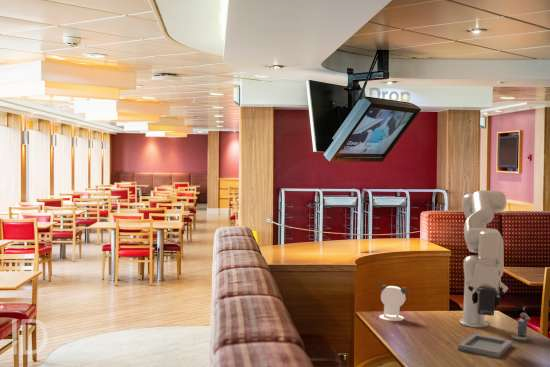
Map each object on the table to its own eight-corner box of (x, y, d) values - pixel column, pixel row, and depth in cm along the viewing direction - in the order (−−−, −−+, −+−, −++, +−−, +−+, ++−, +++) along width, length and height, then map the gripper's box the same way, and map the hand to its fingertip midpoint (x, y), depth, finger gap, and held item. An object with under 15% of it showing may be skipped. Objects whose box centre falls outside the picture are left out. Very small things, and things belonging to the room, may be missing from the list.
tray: (473, 338, 280) (473, 333, 280) (511, 346, 271) (512, 340, 271) (457, 350, 263) (458, 344, 263) (498, 358, 254) (499, 352, 254)
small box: (494, 316, 261) (496, 290, 260) (477, 314, 262) (478, 288, 261) (492, 309, 271) (493, 284, 270) (475, 308, 272) (476, 283, 272)
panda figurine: (407, 316, 314) (408, 285, 313) (402, 322, 303) (404, 290, 302) (382, 313, 318) (383, 282, 317) (377, 319, 307) (378, 287, 306)
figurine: (534, 339, 281) (535, 311, 281) (529, 344, 274) (530, 315, 274) (514, 335, 286) (515, 308, 286) (508, 340, 279) (509, 312, 279)
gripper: (512, 263, 263) (510, 306, 264) (469, 257, 273) (467, 299, 274) (507, 265, 257) (505, 310, 258) (463, 260, 267) (461, 303, 268)
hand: (485, 304), depth 266 cm, fingers closed on small box, 8 cm apart
